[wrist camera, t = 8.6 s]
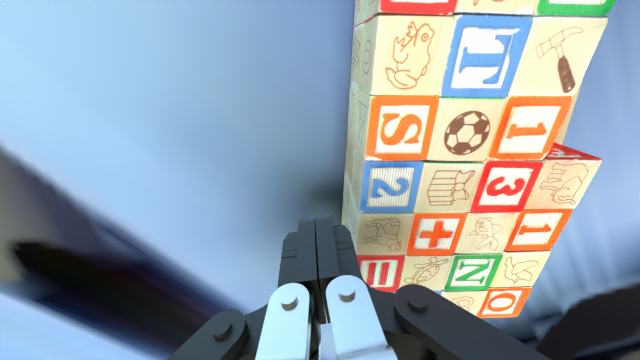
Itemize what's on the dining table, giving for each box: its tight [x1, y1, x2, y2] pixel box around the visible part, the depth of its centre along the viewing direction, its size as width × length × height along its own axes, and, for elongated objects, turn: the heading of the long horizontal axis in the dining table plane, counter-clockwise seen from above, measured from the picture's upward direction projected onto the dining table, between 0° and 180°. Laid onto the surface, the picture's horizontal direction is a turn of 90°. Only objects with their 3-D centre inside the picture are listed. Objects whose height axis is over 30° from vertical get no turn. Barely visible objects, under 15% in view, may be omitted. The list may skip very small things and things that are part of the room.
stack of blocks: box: [341, 0, 615, 318], centre depth 16 cm, size 21×6×12 cm
